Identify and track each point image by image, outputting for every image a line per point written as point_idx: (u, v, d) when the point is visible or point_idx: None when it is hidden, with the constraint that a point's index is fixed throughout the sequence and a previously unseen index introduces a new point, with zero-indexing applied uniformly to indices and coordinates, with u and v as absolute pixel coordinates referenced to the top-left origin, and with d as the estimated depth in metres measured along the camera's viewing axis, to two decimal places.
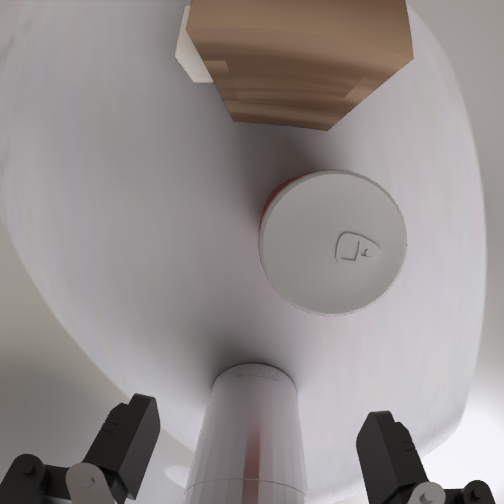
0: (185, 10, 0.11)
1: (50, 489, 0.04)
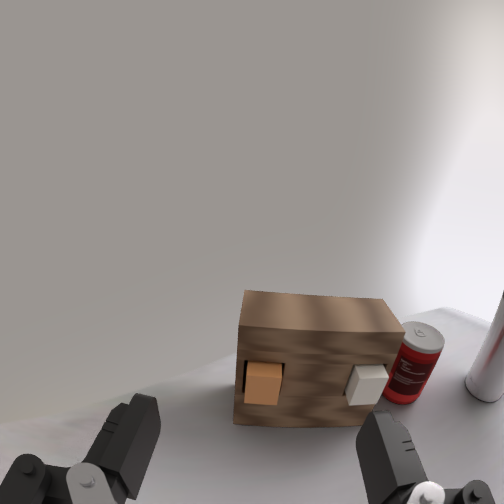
0: (362, 378, 0.27)
1: (51, 489, 0.04)
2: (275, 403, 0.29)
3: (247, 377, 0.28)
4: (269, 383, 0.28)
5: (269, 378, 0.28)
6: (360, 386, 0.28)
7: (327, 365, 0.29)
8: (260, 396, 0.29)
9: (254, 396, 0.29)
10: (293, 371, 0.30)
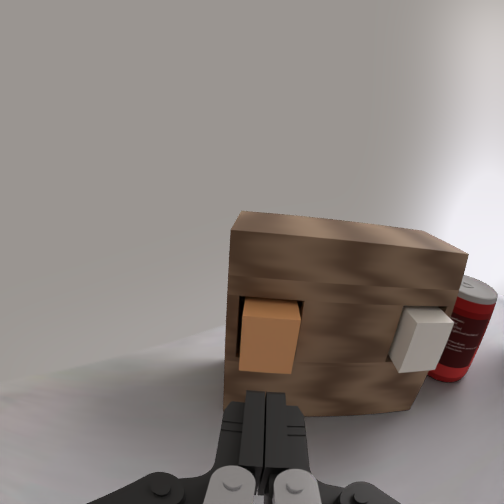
0: (421, 323, 0.17)
1: None
2: (289, 370, 0.19)
3: (244, 320, 0.18)
4: (279, 332, 0.18)
5: (280, 321, 0.18)
6: (417, 338, 0.18)
7: (367, 306, 0.19)
8: (264, 357, 0.18)
9: (255, 357, 0.19)
10: (315, 317, 0.20)
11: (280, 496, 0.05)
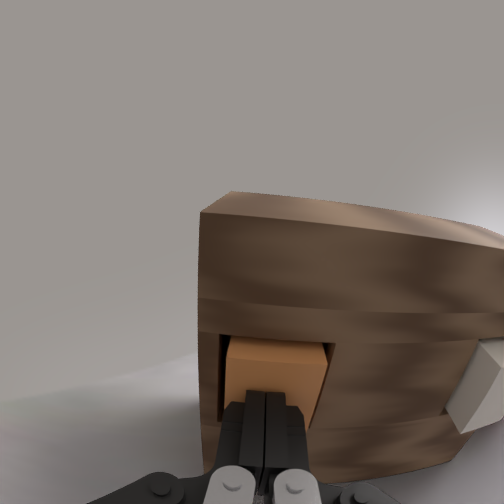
0: None
1: None
2: None
3: (229, 364, 0.10)
4: (289, 383, 0.10)
5: (292, 367, 0.10)
6: (494, 388, 0.09)
7: (433, 345, 0.10)
8: None
9: None
10: (352, 368, 0.11)
11: (280, 496, 0.05)
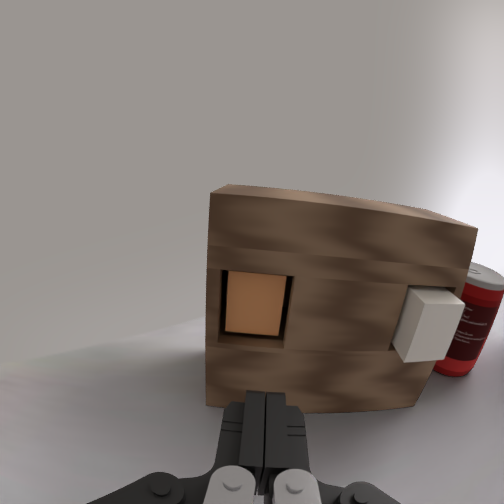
0: (428, 303, 0.15)
1: None
2: (276, 331, 0.19)
3: (230, 275, 0.18)
4: (265, 289, 0.18)
5: (266, 277, 0.18)
6: (424, 321, 0.15)
7: (367, 284, 0.17)
8: (251, 316, 0.19)
9: (241, 316, 0.19)
10: (308, 296, 0.17)
11: (280, 496, 0.05)
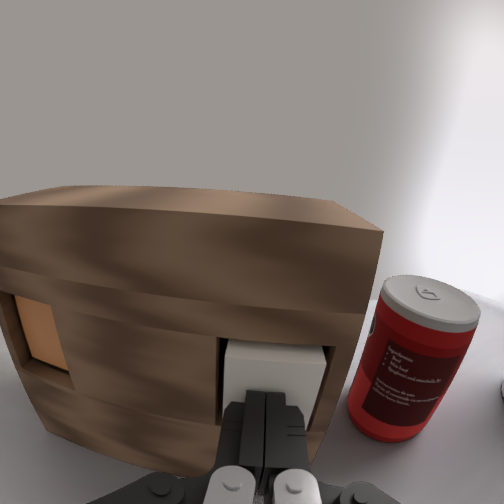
0: (235, 357, 0.10)
1: None
2: None
3: (15, 296, 0.12)
4: (45, 316, 0.12)
5: None
6: (235, 384, 0.10)
7: (140, 328, 0.10)
8: (45, 345, 0.12)
9: (38, 344, 0.12)
10: (72, 333, 0.11)
11: (280, 496, 0.05)
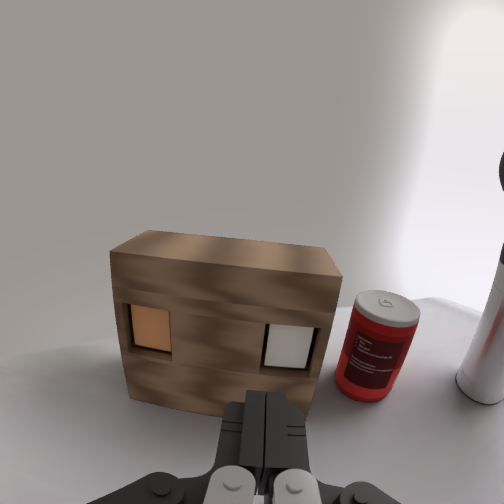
0: None
1: None
2: (168, 348, 0.24)
3: (132, 306, 0.24)
4: (156, 317, 0.24)
5: (155, 309, 0.23)
6: (273, 336, 0.23)
7: (226, 320, 0.22)
8: (150, 335, 0.24)
9: (144, 335, 0.24)
10: (181, 326, 0.23)
11: (280, 496, 0.05)
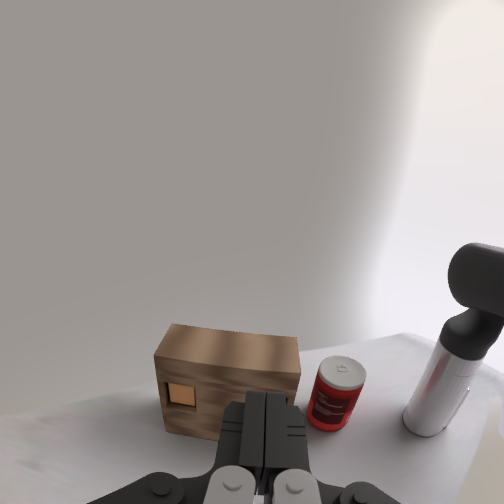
0: None
1: None
2: (193, 404, 0.36)
3: None
4: (185, 388, 0.35)
5: None
6: None
7: (230, 393, 0.34)
8: (181, 397, 0.36)
9: (177, 397, 0.36)
10: (202, 395, 0.34)
11: (280, 496, 0.05)
